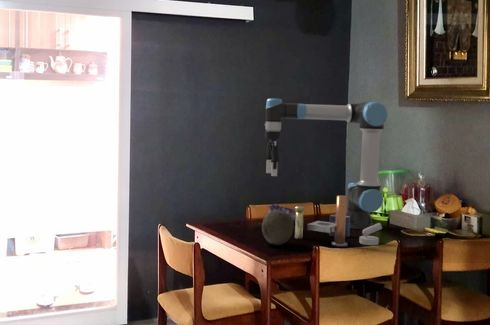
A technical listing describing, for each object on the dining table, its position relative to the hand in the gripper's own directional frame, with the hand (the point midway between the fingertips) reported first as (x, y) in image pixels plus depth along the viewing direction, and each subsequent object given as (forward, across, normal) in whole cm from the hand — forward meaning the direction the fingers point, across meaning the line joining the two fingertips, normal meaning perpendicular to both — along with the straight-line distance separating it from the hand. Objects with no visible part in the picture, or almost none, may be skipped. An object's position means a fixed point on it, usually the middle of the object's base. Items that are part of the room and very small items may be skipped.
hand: (271, 174), depth 289 cm
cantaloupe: (+28, +29, -2) cm, 40 cm away
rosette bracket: (+28, +27, +22) cm, 45 cm away
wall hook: (+28, +26, +42) cm, 57 cm away
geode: (+28, -27, +10) cm, 41 cm away
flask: (+28, +10, +32) cm, 44 cm away
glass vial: (+28, +15, +11) cm, 34 cm away
